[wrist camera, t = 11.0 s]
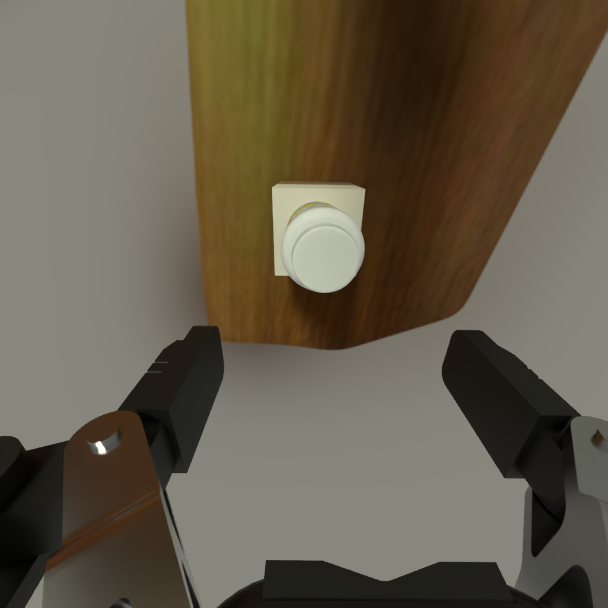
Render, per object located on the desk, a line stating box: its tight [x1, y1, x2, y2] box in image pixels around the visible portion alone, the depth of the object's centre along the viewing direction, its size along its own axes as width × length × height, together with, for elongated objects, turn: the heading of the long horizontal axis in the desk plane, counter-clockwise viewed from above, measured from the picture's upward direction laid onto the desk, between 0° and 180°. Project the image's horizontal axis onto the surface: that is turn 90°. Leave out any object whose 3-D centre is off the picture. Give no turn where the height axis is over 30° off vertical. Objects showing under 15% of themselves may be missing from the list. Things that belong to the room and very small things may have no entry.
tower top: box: [272, 184, 365, 277], centre depth 28 cm, size 8×8×5 cm
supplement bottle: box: [281, 202, 365, 293], centre depth 21 cm, size 6×6×10 cm
